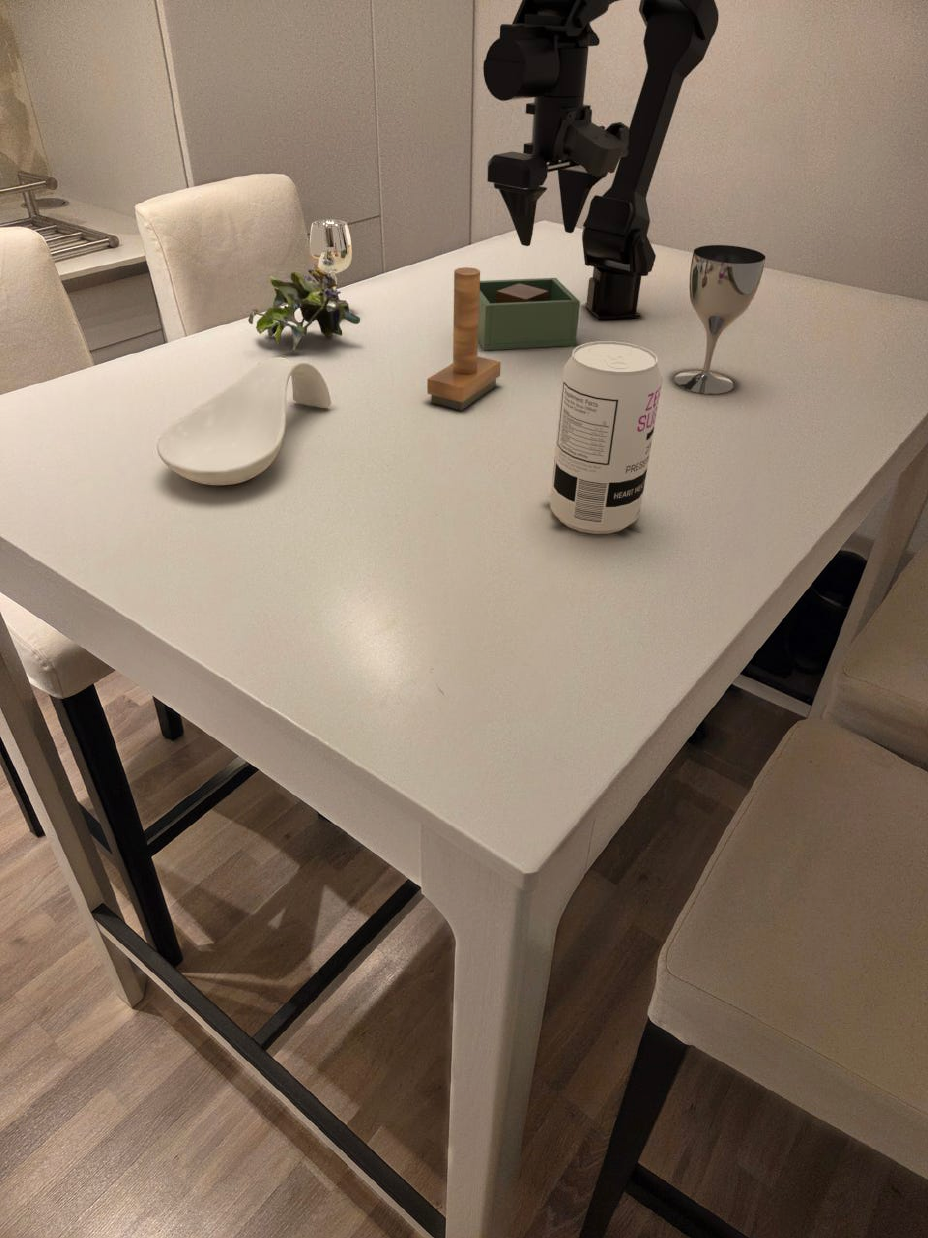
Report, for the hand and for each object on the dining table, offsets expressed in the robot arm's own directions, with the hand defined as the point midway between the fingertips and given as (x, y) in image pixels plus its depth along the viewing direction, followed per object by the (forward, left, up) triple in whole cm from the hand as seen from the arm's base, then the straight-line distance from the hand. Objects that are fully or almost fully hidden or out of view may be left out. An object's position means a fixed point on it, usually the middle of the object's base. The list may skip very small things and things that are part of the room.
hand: (547, 238), depth 108 cm
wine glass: (-16, +17, -13) cm, 27 cm away
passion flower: (+31, -3, -13) cm, 34 cm away
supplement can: (+8, +45, -13) cm, 48 cm away
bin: (+2, -3, -13) cm, 13 cm away
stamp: (+14, +16, -13) cm, 25 cm away
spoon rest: (+38, +26, -13) cm, 48 cm away
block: (+2, -3, -12) cm, 13 cm away
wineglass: (+26, -15, -13) cm, 33 cm away
